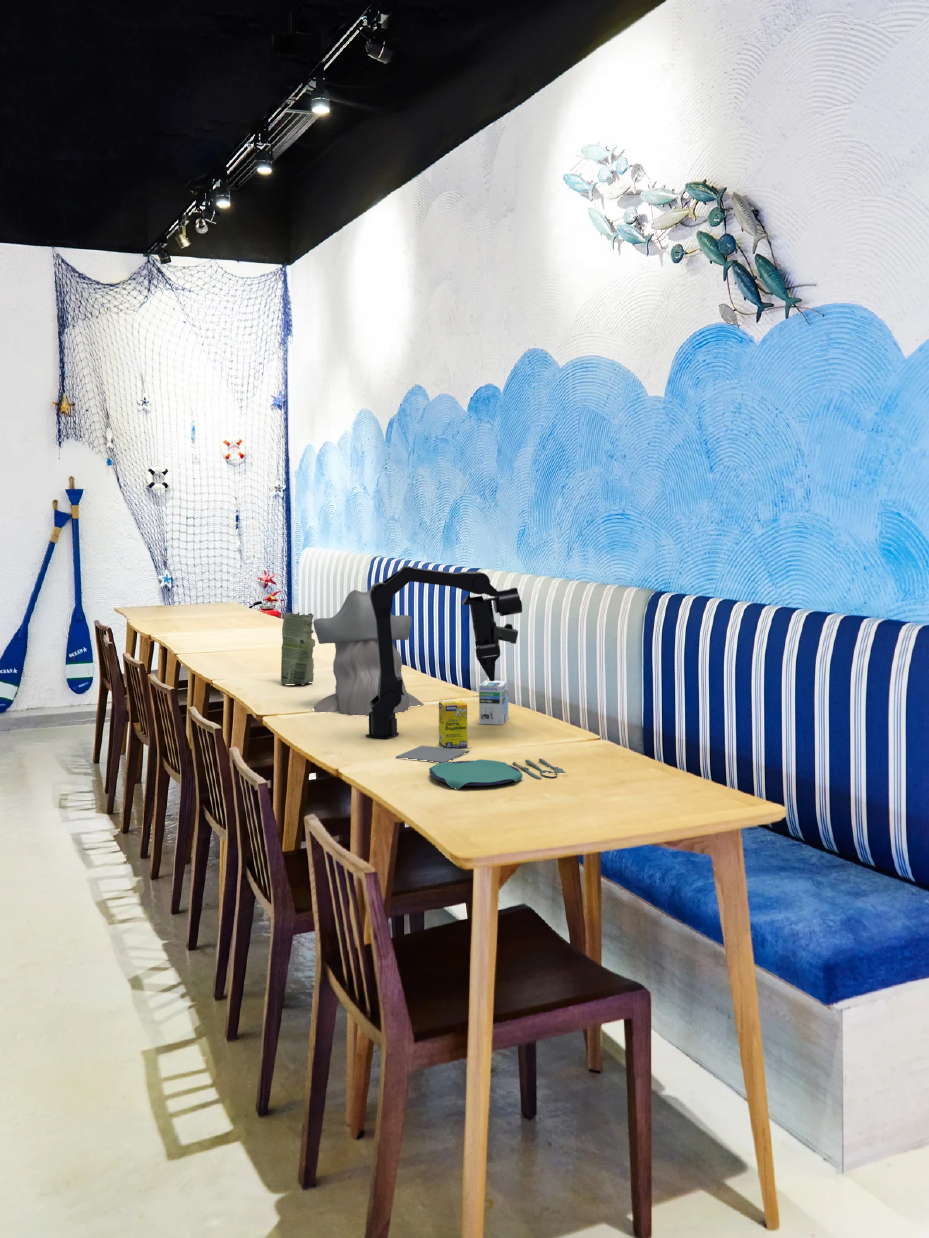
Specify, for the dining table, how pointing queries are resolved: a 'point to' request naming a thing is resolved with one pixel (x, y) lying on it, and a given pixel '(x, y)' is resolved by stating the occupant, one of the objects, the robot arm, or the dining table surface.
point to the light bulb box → (493, 702)
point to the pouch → (297, 649)
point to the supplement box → (453, 724)
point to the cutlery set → (484, 772)
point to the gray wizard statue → (359, 656)
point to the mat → (433, 754)
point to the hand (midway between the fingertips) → (492, 677)
